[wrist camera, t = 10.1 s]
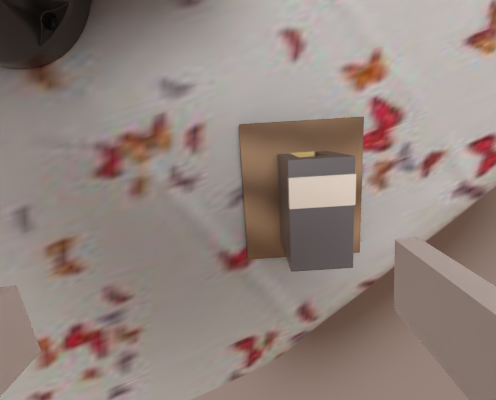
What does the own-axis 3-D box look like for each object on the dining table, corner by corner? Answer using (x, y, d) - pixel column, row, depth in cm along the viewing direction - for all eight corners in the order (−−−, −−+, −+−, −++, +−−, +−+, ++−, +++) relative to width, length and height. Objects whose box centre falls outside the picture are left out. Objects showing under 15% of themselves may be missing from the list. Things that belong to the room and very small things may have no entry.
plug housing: (277, 154, 28) (288, 160, 21) (328, 151, 28) (356, 156, 21) (280, 240, 30) (291, 272, 23) (328, 237, 30) (353, 268, 23)
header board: (239, 125, 28) (237, 122, 23) (357, 117, 28) (386, 113, 23) (247, 253, 32) (248, 280, 26) (354, 246, 32) (379, 272, 26)
